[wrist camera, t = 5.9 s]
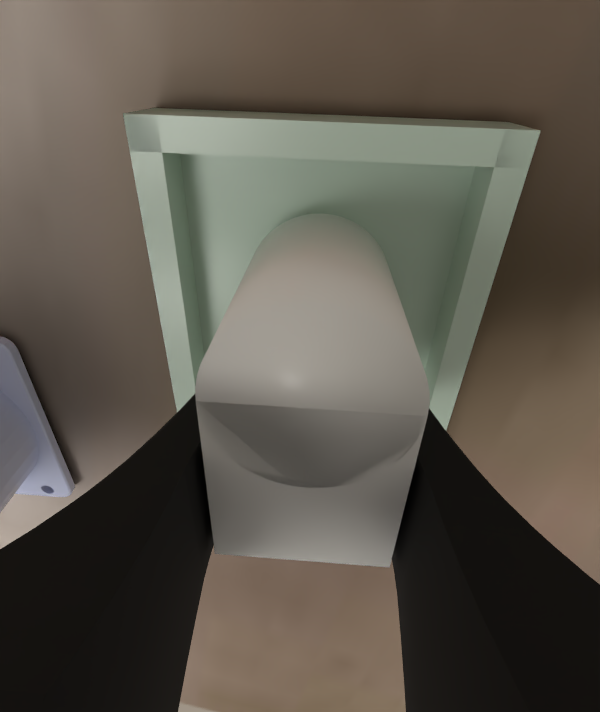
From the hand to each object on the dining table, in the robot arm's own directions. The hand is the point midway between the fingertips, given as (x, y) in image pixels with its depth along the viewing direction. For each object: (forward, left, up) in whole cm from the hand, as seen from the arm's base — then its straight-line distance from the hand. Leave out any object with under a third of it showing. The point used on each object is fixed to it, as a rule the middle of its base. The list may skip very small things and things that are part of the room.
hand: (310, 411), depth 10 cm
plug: (0, 0, -2) cm, 2 cm away
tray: (0, 0, -4) cm, 4 cm away
